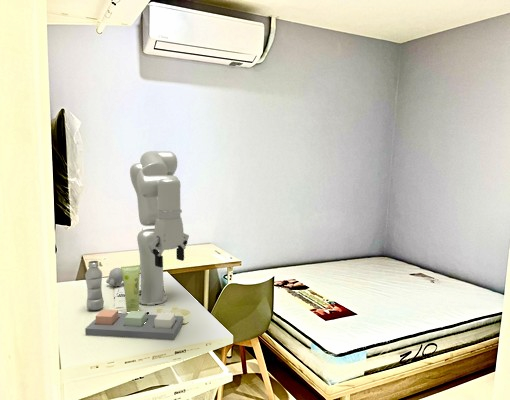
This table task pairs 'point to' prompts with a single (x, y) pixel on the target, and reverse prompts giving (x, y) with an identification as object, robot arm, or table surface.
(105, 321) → the terracotta button
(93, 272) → the plastic bottle
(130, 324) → the sage button
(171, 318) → the offwhite button
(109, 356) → the table surface
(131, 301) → the tube
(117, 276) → the chubby cartoon animal
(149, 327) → the panel
